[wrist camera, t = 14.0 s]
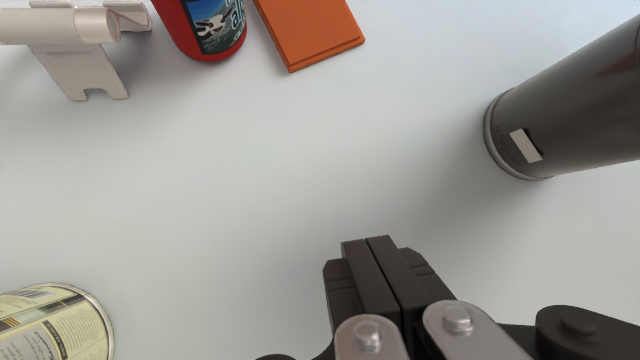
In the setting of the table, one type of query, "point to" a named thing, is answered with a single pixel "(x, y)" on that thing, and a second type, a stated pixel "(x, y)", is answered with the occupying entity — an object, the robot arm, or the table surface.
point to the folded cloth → (309, 29)
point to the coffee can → (53, 325)
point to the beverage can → (204, 26)
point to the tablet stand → (75, 40)
